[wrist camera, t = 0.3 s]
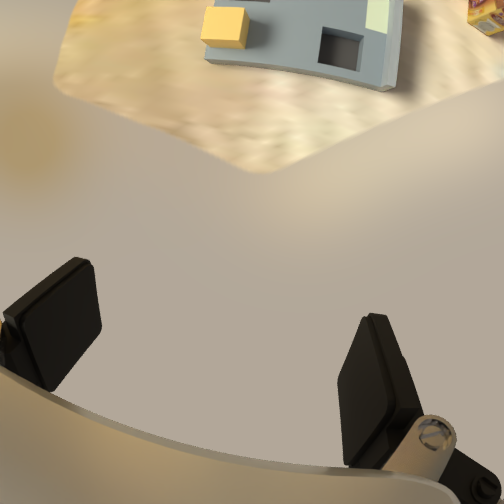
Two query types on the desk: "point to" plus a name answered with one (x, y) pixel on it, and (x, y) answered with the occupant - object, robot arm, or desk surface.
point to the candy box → (486, 15)
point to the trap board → (321, 39)
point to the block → (225, 27)
